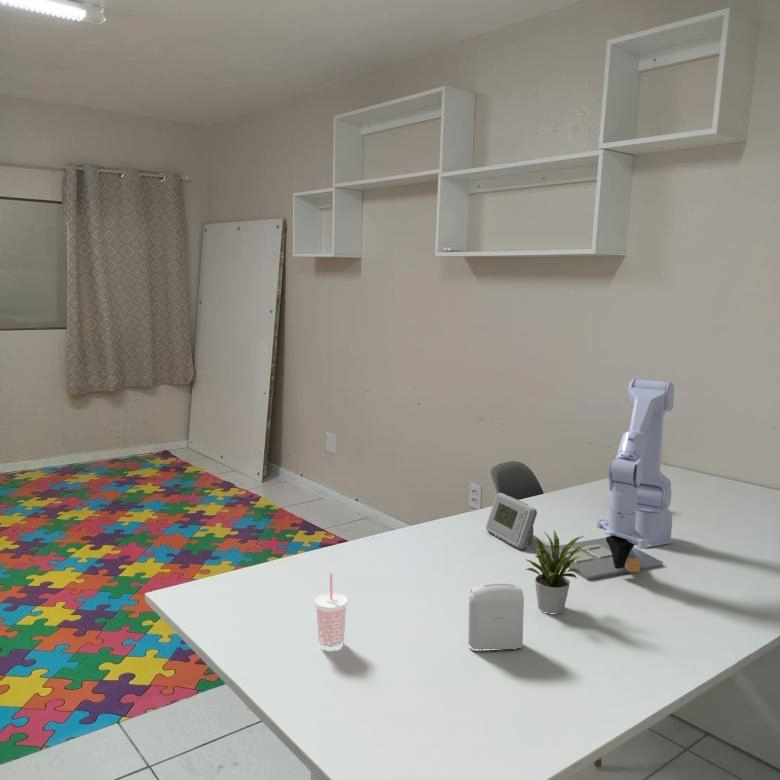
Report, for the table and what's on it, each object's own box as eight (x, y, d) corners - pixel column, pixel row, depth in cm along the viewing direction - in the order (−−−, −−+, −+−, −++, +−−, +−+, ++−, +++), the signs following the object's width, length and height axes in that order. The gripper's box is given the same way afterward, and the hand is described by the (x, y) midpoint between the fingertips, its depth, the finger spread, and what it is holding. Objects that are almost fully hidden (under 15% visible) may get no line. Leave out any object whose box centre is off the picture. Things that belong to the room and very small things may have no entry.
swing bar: (614, 548, 176) (615, 538, 176) (625, 548, 176) (625, 538, 176) (627, 571, 163) (628, 560, 162) (639, 572, 162) (640, 561, 162)
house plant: (600, 604, 150) (605, 530, 147) (582, 632, 138) (587, 552, 135) (535, 588, 157) (538, 518, 154) (512, 614, 145) (515, 537, 143)
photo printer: (470, 653, 130) (472, 590, 128) (465, 642, 134) (467, 580, 132) (525, 651, 131) (528, 588, 129) (518, 639, 135) (521, 578, 133)
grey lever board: (611, 540, 186) (612, 521, 186) (662, 565, 170) (663, 545, 169) (541, 552, 178) (542, 533, 177) (588, 580, 162) (589, 559, 161)
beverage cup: (318, 655, 129) (317, 583, 126) (312, 639, 134) (311, 569, 132) (351, 651, 130) (351, 579, 128) (343, 635, 136) (343, 565, 134)
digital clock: (483, 530, 193) (484, 492, 191) (514, 527, 195) (515, 490, 194) (508, 552, 178) (510, 511, 176) (541, 549, 180) (543, 509, 178)
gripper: (588, 503, 166) (584, 558, 168) (631, 523, 153) (627, 582, 155) (612, 499, 169) (608, 554, 171) (656, 519, 156) (652, 577, 158)
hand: (619, 567), depth 163 cm, fingers closed
